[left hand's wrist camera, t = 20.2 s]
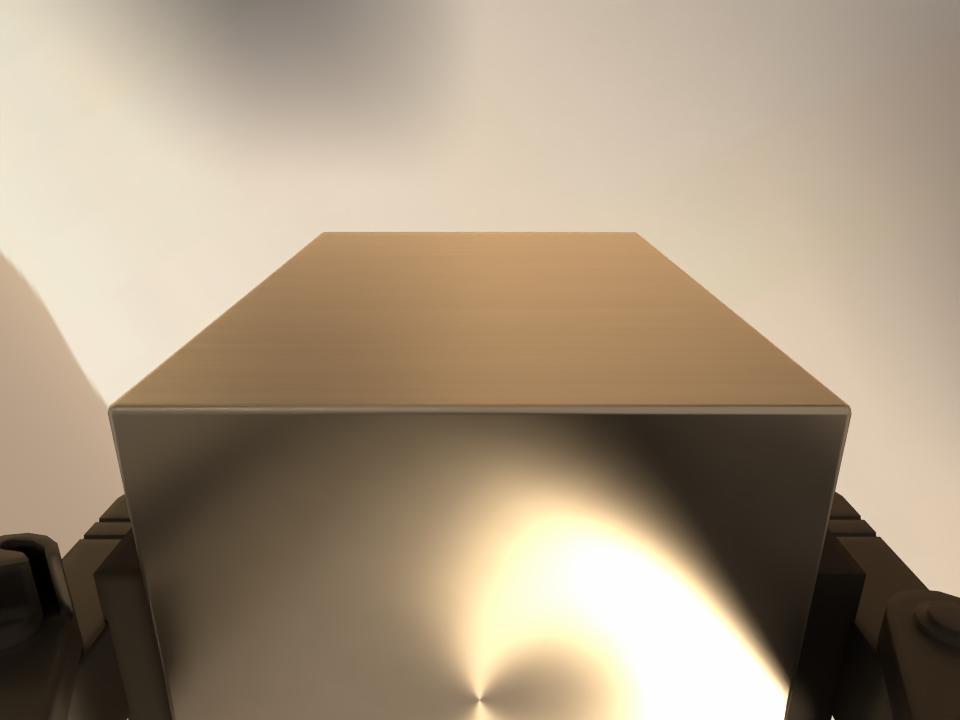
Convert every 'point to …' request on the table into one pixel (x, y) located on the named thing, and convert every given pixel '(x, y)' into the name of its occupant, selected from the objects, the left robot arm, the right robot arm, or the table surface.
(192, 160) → the table surface
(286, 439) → the block
